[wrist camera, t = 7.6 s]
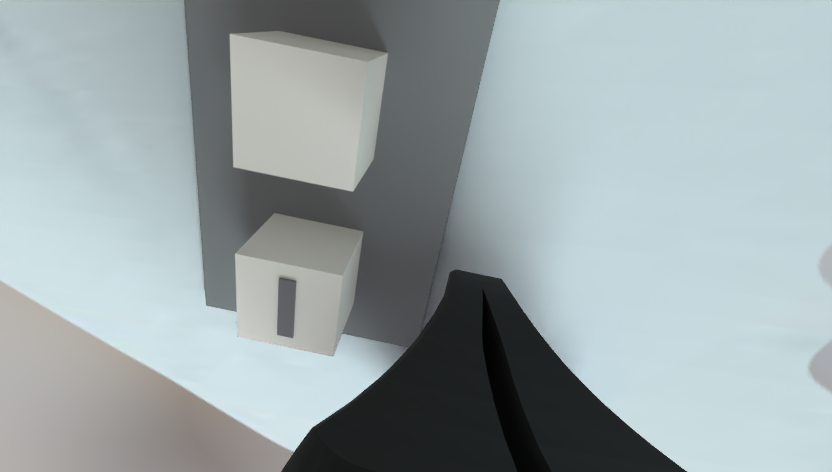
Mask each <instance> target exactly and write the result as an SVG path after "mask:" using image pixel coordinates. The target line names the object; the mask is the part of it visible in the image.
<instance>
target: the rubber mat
mask: <svg viewBox="0 0 832 472" xmlns="http://www.w3.org/2000/svg"><path fill="white" fill-rule="evenodd" d="M184 2H185V16H186V30H187V44H188V58H189V72H190V86H191V100H192V114H193V128H194V142H195V156H196V170H197V184H198V198H199V212H200V226H201V240H202V254H203V269H204V283H205V297H206V305H207V306H212V307H216V308H221V309H226V310H231V311H236V312H237V305H236V270H235V253H236V252H237V251H238V250H239V249H240V248H241V247H242V246H243V245H244V244H245V243H246V242H247V241H248V240H249V239H250V238H251V237H252V236H253V235H254V234H255V233H256V232H257V231H258V230H259V228H260V227H261V226H262V225H263V224H264V223H265V222H266V221H267V220H268V219H269V218H270V217H271V216H272V215H273V214H274V213H277V214H281V215H286V216H291V217H296V218H301V219H306V220H311V221H316V222H320V223H325V224H330V225H335V226H340V227H345V228H350V229H355V230H359V231H363V237H362V245H361V252H360V260H359V267H358V275H357V282H356V289H355V297H354V304H353V306H352V309H351V311H350V314H349V317H348V319H347V322H346V325H345V327H344V330H343V332H342V334H347V335H352V336H357V337H362V338H367V339H371V340H376V341H381V342H386V343H391V344H396V345H401V346H405V347H410V346H411V345H412V344H413V342H414V341H415V340H416V339H417V337H418V336H419V335H420V332H421V328H422V324H423V320H424V316H425V311H426V307H427V303H428V299H429V295H430V290H431V286H432V282H433V278H434V274H435V269H436V265H437V261H438V257H439V253H440V248H441V244H442V240H443V236H444V232H445V227H446V223H447V219H448V215H449V210H450V206H451V202H452V198H453V194H454V189H455V185H456V181H457V177H458V173H459V168H460V164H461V160H462V156H463V152H464V147H465V143H466V139H467V135H468V131H469V126H470V122H471V118H472V114H473V110H474V105H475V101H476V97H477V93H478V89H479V84H480V80H481V76H482V72H483V68H484V63H485V59H486V55H487V51H488V47H489V42H490V38H491V34H492V30H493V26H494V21H495V17H496V13H497V9H498V5H499V0H184ZM268 31H282V32H287V33H292V34H297V35H302V36H307V37H312V38H317V39H322V40H327V41H332V42H337V43H342V44H346V45H351V46H356V47H361V48H366V49H371V50H376V51H381V52H386V53H388V57H387V65H386V72H385V80H384V87H383V94H382V102H381V109H380V116H379V124H378V131H377V139H376V146H375V153H374V159H373V161H372V163H371V164H370V166H369V167H368V169H367V170H366V172H365V174H364V175H363V177H362V178H361V180H360V181H359V183H358V185H357V186H356V188H355V189H354V191H353V192H352V191H347V190H342V189H337V188H332V187H328V186H323V185H318V184H313V183H308V182H303V181H298V180H293V179H289V178H284V177H279V176H274V175H269V174H264V173H259V172H254V171H249V170H245V169H240V168H235V167H233V138H232V102H231V66H230V34H234V33H251V32H268Z"/></svg>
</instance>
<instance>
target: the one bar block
mask: <svg viewBox="0 0 832 472" xmlns="http://www.w3.org/2000/svg"><path fill="white" fill-rule="evenodd" d="M362 237H363V231H359V230H355V229H350V228H345V227H340V226H335V225H330V224H325V223H320V222H316V221H311V220H306V219H301V218H296V217H291V216H286V215H281V214H277V213H274V214H273V215H272V216H271V217H270V218H269V219H268V220H267V221H266V222H265V223H264V224H263V225H262V226H261V227H260V228H259V230H258V231H257V232H256V233H255V234H254V235H253V236H252V237H251V238H250V239H249V240H248V241H247V242H246V243H245V244H244V245H243V246H242V247H241V248H240V249H239V250H238V251H237V252H236V253H235V270H236V305H237V337H241V338H246V339H251V340H256V341H261V342H265V343H270V344H275V345H280V346H285V347H290V348H294V349H299V350H304V351H309V352H314V353H319V354H323V355H328V356H334V353H335V351H336V348H337V345H338V343H339V340H340V338H341V335H342V332H343V330H344V327H345V325H346V322H347V319H348V317H349V314H350V311H351V309H352V306H353V304H354V297H355V289H356V282H357V275H358V267H359V260H360V252H361V245H362Z"/></svg>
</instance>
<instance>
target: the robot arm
mask: <svg viewBox="0 0 832 472" xmlns="http://www.w3.org/2000/svg"><path fill="white" fill-rule="evenodd" d="M282 472H687V471H685V470H684V469H682V468H681V467H680V466H679V465H677V464H676V463H675V462H673V461H672V460H671V459H669V458H668V457H667V456H665V455H664V454H663V453H662V452H660V451H659V450H658V449H656V448H655V447H654V446H652V445H651V444H650V443H649V442H647V441H646V440H645V439H644V438H643V437H641V436H640V435H639V434H638V433H636V432H635V431H634V430H633V429H632V428H630V427H629V426H628V425H627V424H626V423H625V422H624V421H622V420H621V419H620V418H619V417H618V416H617V415H616V414H615V413H613V412H612V411H611V410H610V409H609V408H608V407H607V406H605V405H604V404H603V403H602V402H601V401H600V400H599V399H598V398H597V397H596V396H595V395H594V394H593V393H592V392H591V391H590V390H589V389H588V388H587V387H586V386H585V385H584V384H583V383H582V382H581V381H580V380H579V379H578V378H577V377H576V376H575V375H574V374H573V373H572V372H571V371H570V369H569V368H568V367H567V366H566V365H565V364H564V363H563V362H562V361H561V359H560V358H559V357H558V356H557V355H556V353H555V352H554V351H553V350H552V349H551V347H550V346H549V345H548V344H547V342H546V341H545V340H544V339H543V337H542V336H541V335H540V333H539V332H538V331H537V330H536V328H535V327H534V326H533V324H532V323H531V321H530V320H529V319H528V317H527V316H526V314H525V313H524V312H523V310H522V309H521V307H520V306H519V304H518V303H517V301H516V300H515V298H514V297H513V295H512V294H511V292H510V291H509V289H508V288H507V286H506V285H505V283H504V282H503V280H502V279H499V278H494V277H489V276H484V275H479V274H475V273H470V272H465V271H460V270H454V271H452V272H450V274H449V278H448V282H447V286H446V290H445V294H444V297H443V299H442V300H441V302H440V304H439V306H438V308H437V310H436V311H435V313H434V315H433V316H432V318H431V319H430V321H429V322H428V323H427V325H426V326H425V328H424V329H423V331H422V332H421V333H420V335H419V336H418V337H417V339H416V340H415V341H414V342H413V344H412V345H411V346H410V347H409V348H408V349H407V351H406V352H405V353H404V354H403V355H402V356H401V357H400V358H399V359H398V360H397V361H396V362H395V363H394V364H393V365H392V366H391V367H390V368H389V369H388V370H387V371H386V372H385V373H384V374H383V375H382V376H381V377H380V378H379V379H378V380H376V381H375V382H374V383H373V384H372V385H370V386H369V387H368V388H367V389H366V390H364V391H363V392H362V393H361V394H359V395H358V396H357V397H356V398H355V399H353V400H352V401H351V402H349V403H348V404H347V405H345V406H344V407H342V408H341V409H339V410H338V411H336V412H335V413H334V414H332V415H331V416H329V417H328V418H326V419H325V420H323V421H322V422H320V423H319V424H317V425H316V426H314V427H313V428H312V429H311V430H310V431H309V433H308V434H307V435H306V437H305V438H304V439H303V441H302V442H301V443H300V445H299V446H298V448H297V449H296V450H295V452H294V453H293V455H292V456H291V458H290V459H289V461H288V462H287V464H286V465H285V467H284V468H283V470H282Z"/></svg>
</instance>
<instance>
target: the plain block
mask: <svg viewBox="0 0 832 472" xmlns="http://www.w3.org/2000/svg"><path fill="white" fill-rule="evenodd" d="M387 57H388V53H386V52H381V51H376V50H371V49H366V48H361V47H356V46H351V45H346V44H342V43H337V42H332V41H327V40H322V39H317V38H312V37H307V36H302V35H297V34H292V33H287V32H282V31H268V32H251V33H234V34H230V66H231V102H232V138H233V167H235V168H240V169H245V170H249V171H254V172H259V173H264V174H269V175H274V176H279V177H284V178H289V179H293V180H298V181H303V182H308V183H313V184H318V185H323V186H328V187H332V188H337V189H342V190H347V191H352V192H353V191H354V189H355V188H356V186H357V185H358V183H359V181H360V180H361V178H362V177H363V175H364V174H365V172H366V170H367V169H368V167H369V166H370V164H371V163H372V161H373V159H374V153H375V146H376V139H377V131H378V124H379V116H380V109H381V102H382V94H383V87H384V80H385V72H386V65H387Z"/></svg>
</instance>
